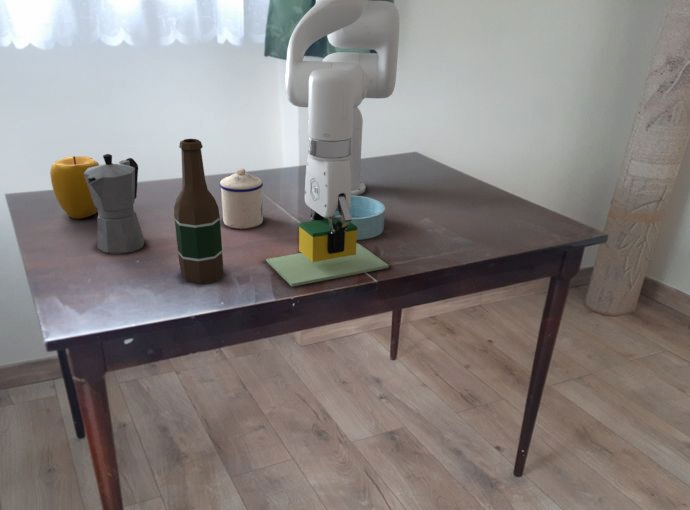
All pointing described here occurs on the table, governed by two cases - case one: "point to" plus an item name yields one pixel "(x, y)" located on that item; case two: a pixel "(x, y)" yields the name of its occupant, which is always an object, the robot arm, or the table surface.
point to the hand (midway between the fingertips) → (327, 244)
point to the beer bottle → (197, 220)
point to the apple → (73, 186)
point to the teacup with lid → (242, 200)
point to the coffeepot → (115, 205)
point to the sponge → (324, 240)
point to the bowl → (366, 216)
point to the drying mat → (324, 266)
